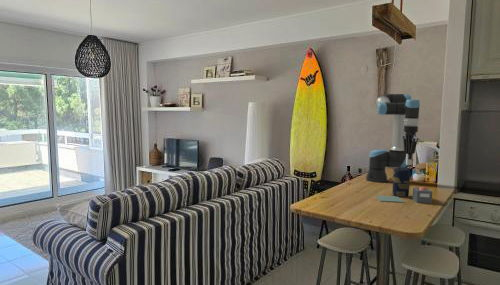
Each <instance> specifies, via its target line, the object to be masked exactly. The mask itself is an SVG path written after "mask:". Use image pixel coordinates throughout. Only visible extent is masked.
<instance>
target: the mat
mask: <svg viewBox="0 0 500 285" xmlns="http://www.w3.org/2000/svg"><path fill="white" fill-rule="evenodd" d="M375 197H376V198H377V199H378V201H379V202H386V203H405V202H404V200H403V199H402V198H400V196H396V195H394V196H392V195H378V194H377V195H375Z"/></svg>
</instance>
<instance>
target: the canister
mask: <svg viewBox="0 0 500 285" xmlns="http://www.w3.org/2000/svg"><path fill="white" fill-rule="evenodd" d="M392 172H393V173H392V174H393V175H392V178H393V179H392V192H391V193H392V195H394V196H396V197H404V198H405V197H408V196H409V195H410V182H411V170H410V169H409V168H407V167H405V168H404V167H399V168H395V167H393V171H392Z"/></svg>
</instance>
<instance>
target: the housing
mask: <svg viewBox="0 0 500 285" xmlns="http://www.w3.org/2000/svg"><path fill="white" fill-rule="evenodd" d="M425 188H426V190H419V187H412V198H411V199H412V200H413V201H414V202H415V203H417V204H418V203H419V204H433V203H432V202H433V190H431V189H429V188H428V187H425Z"/></svg>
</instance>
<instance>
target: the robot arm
mask: <svg viewBox="0 0 500 285" xmlns="http://www.w3.org/2000/svg"><path fill="white" fill-rule="evenodd" d="M420 102H421V101H420V99H412V96H411V94H409V93H386V94H382V95H380V96H378V97H377V98H376V100H375V106H376V108H377V114H378V115H382V116H384V115H387V116H388V115H389V116H390V115H391V116H393V121H392V122H393V123H392V139H391V140H392V141H391V147H390V148H389V150H387V149H385V148H383V149H379V148H378V149H373V150H371V151H370V152H369V156H368V157H369V160H368V161H369V162H368V172H367V173H366V175H365V180H366V181H369V182H374V183H375V182H376V183H386V182H388V176H387V172H386V168H399V167H404V168H407V166H409V165H410V166H411V165H412V162H413V161H412V158H413V154H415V153H416V149H417V145H418V144H417V143H418V141H419V138H418V137H417V136H416V135H417V134H416V133H418V132H419V120H420V119H419V117H420V107H421V105H420V104H421V103H420Z"/></svg>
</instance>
